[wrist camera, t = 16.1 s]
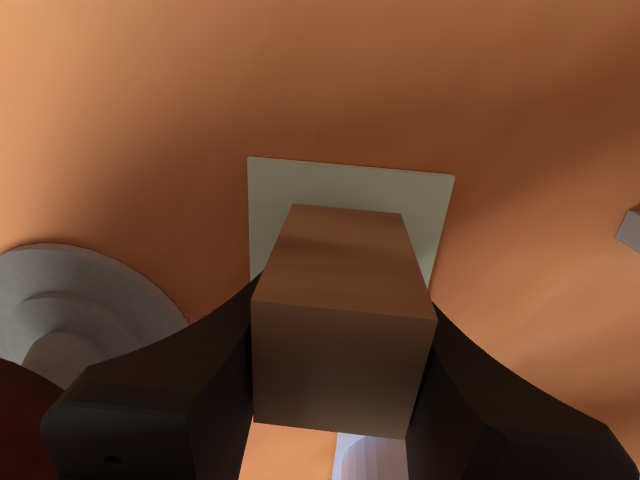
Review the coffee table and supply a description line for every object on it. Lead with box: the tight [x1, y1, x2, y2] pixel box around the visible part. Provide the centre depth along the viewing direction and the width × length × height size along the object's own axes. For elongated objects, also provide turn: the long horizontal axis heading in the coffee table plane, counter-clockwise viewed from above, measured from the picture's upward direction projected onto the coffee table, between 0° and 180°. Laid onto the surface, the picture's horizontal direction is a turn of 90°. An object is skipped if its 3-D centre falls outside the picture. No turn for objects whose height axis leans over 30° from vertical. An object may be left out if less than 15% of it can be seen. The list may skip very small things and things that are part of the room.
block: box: [251, 203, 438, 440], centre depth 11 cm, size 4×4×6 cm
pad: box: [247, 156, 455, 289], centre depth 15 cm, size 8×8×1 cm
